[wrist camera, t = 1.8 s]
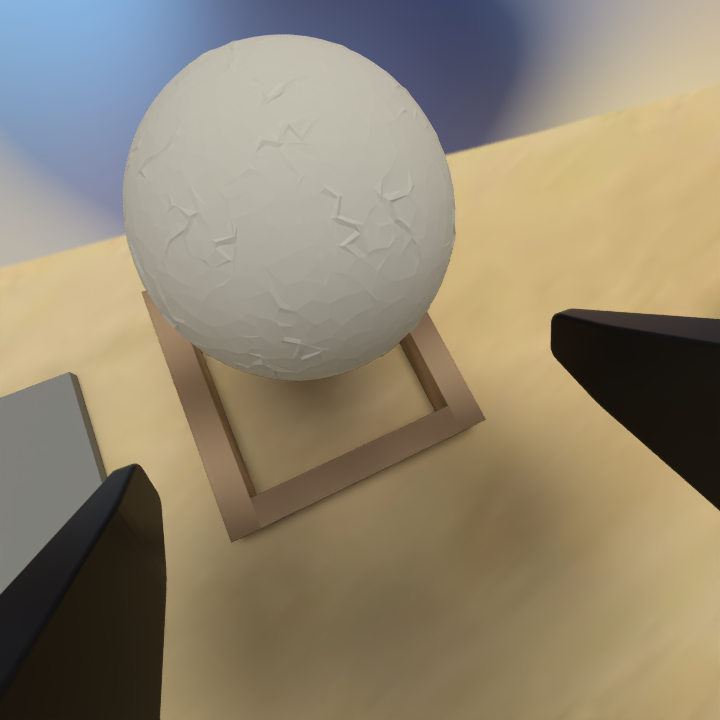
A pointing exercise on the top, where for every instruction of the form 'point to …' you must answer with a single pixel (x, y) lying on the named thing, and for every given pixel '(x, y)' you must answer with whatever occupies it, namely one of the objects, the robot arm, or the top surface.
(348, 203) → the lollipop
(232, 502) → the brown wooden square frame
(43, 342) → the top surface
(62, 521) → the mat
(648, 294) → the top surface
